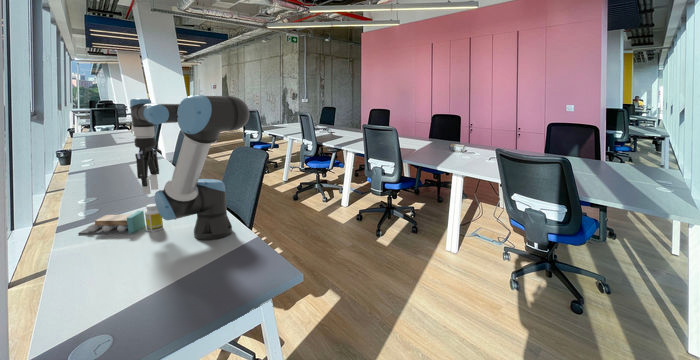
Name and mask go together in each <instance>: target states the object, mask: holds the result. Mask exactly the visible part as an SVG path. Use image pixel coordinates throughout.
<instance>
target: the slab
mask: <svg viewBox="0 0 700 360" xmlns="http://www.w3.org/2000/svg"><path fill="white" fill-rule="evenodd" d="M131 215H132V214H105V215H103V216H101V217H99V218H97V219H95V220H94V223H95V225H128V224H127V217H129V216H131Z"/></svg>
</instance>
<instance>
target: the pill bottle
mask: <svg viewBox="0 0 700 360" xmlns="http://www.w3.org/2000/svg"><path fill="white" fill-rule="evenodd" d="M145 206H146V207H145V208H146V210H145V212H144V218H145V226H146V230H147V231H148V232H151V233H152V232H159V231H160V230H161V231H162V230H163V228H164V224H163V223H164V222H163V218H162V217H161V215H160V214H159V212H158V210H157V207H156V203H150V204H147V205H145Z"/></svg>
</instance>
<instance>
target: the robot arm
mask: <svg viewBox="0 0 700 360" xmlns="http://www.w3.org/2000/svg"><path fill="white" fill-rule="evenodd" d="M129 105H130V107H129V109H130V115H131V122H132V132H133V136H134V137H135V138H133V140H134V147H136V148H138V153H135V160H136V161H135V162H136V172H137V176H136V177H137V179H139V180H141V189H142V195H150V194H152V193H151V191H154V190H155V193H154V204H156V207H157V210H158V212H159V214H160V215H161V217H162V220H165V221H172V220H173V221H174V220H175V221H176V220H178V219H181V218H182V219H183V218H185V217H189V216H193V215H196V221H195V224H194V229H193V237H194V238H195V239H199V240H203V241H206V240H207V241H210V240H211V239H213V240H218V239H217V238H219V239H222V237H223V238H226V237H228V236H230V235H232V233H233V226H232V223H231V221H230V219H229V217H228V212H227V195H226V194H227V193H226V186H225V182H224V181H222V180H219V179H214V178H213V179H211V178H200V176H201V173H202V170H203V168H204V165H205V162H206V159H207V157H208V154H209V151H210V148H211V145H212V144H214V143H216V142H218V140H219V137H220V134H221V133H222V132H233V131H238V130H241V129H242V128H243V127H245V125H247V123H248V122H249V119H250V109H249V107H248V105H247V103H246V102H245V101H244V100H242V99H241V98H239V97H237V96H232V95H204V94H198V95H189V96H186V97H185V98H183V99H182V100H181V101H180V102H179V103H152V100H151V99H149V98H130V100H129ZM171 123H172V124H173V123H175V124H176V123H177V124H178V126H179V129H180V130H181V132H182V134H183V140H182V143H181V147H180V150H179V153H178V157H177V160H176V164H175V166H174V170H173V174H172V177H171V179H169V180H168V181H167V182H166V183H165V185H164V188H163V189H162V190H161V189H160V190H159V184H158V183H159V182H158V175H160V166H159V161H158V149H154V148H153V147H156V146H157V144H156V137H154V136H156V133H155V125H161V124H171ZM148 173H150V174H149V176H148ZM157 190H158V191H157ZM229 234H230V235H229ZM227 235H228V236H227ZM225 236H226V237H225Z"/></svg>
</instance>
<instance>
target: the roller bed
mask: <svg viewBox="0 0 700 360" xmlns="http://www.w3.org/2000/svg"><path fill="white" fill-rule="evenodd" d="M130 215H131V216H129V217H127V224H128V225H95V222H94V223H92V224H90V225H89V226H87V227H86V228H84V229H83V230H82V231H80V232H78V233H77V234H78V236H79V235H83V236H84V235H87V236H89V235H134V234H136V233H137V232H139V231H140V230H141V229H143V228H145V226H146V219H145V212H144V210H137V211H136V212H134V213H131V214H130Z"/></svg>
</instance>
